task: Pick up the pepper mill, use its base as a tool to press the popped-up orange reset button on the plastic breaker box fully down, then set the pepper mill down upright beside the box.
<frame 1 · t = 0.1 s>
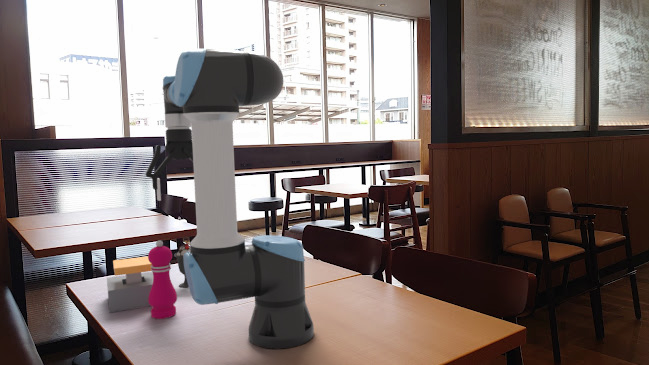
hand: (182, 198, 154), 28 cm above the table, fingers open, 13 cm apart
reset button: (133, 274, 145), point 8 cm above the table, slide at 3.0 cm
pepper mill: (163, 315, 134), on the table
breaker box: (135, 300, 146), on the table
sundae: (187, 285, 160), on the table
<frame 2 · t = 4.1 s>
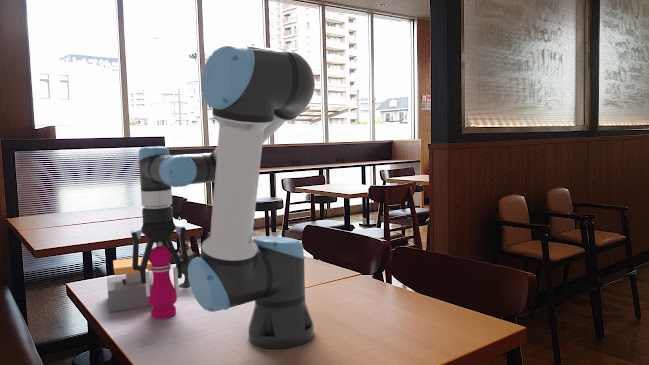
hand: (162, 292, 133), 6 cm above the table, fingers closed on pepper mill, 6 cm apart
pepper mill: (163, 315, 134), on the table, touching gripper
everything else where it was.
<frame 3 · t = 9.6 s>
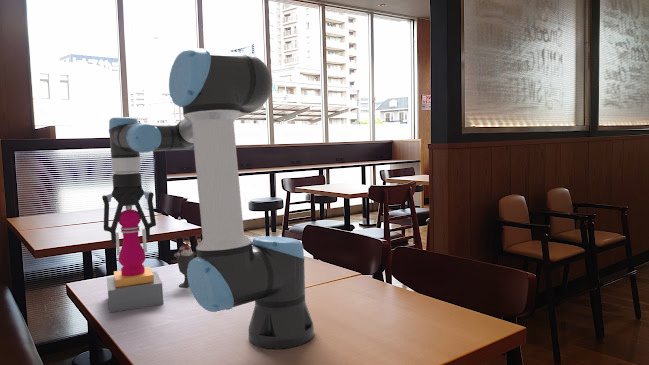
hand: (131, 252, 145), 14 cm above the table, fingers closed on pepper mill, 6 cm apart
reset button: (134, 285, 145), point 5 cm above the table, slide at -0.2 cm, touching pepper mill
pepper mill: (133, 273, 145), point 8 cm above the table, touching gripper, reset button
everything else where it was.
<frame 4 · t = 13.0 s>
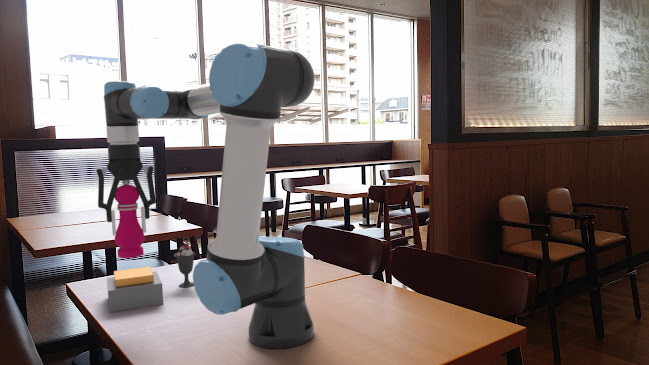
hand: (129, 232, 131), 22 cm above the table, fingers closed on pepper mill, 6 cm apart
reset button: (134, 284, 145), point 5 cm above the table, slide at -0.2 cm
pepper mill: (130, 256, 131), point 16 cm above the table, touching gripper
everything else where it was.
when the fingers open (7 cm above the table, at t = 15.9 s): pepper mill drops 1 cm, on the table.
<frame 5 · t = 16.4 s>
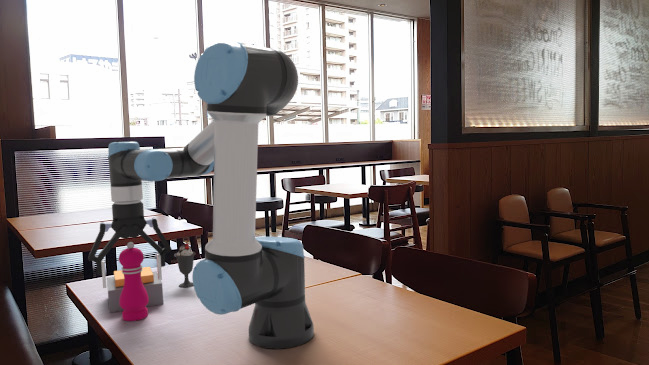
hand: (132, 282, 132), 9 cm above the table, fingers open, 13 cm apart
pepper mill: (135, 317, 133), on the table
everything else where it was.
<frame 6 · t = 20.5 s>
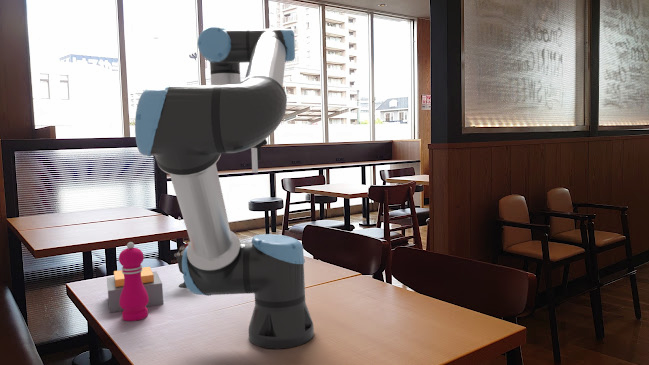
hand: (230, 174, 132), 37 cm above the table, fingers open, 13 cm apart
nothing on the table moved.
at the end: reset button slide at -0.2 cm; pepper mill tilted 0°; the gripper is holding nothing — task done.
